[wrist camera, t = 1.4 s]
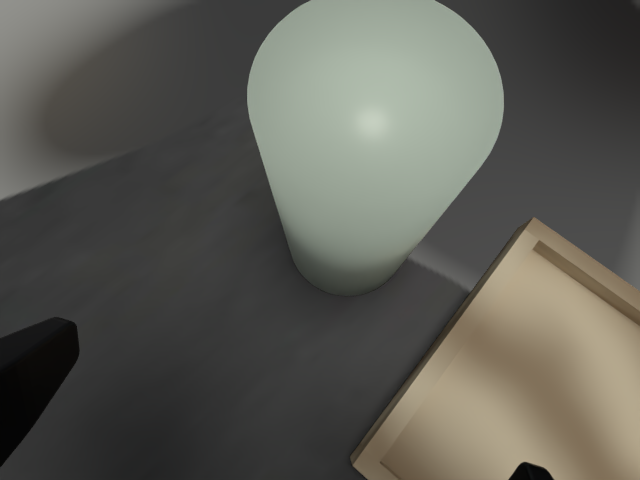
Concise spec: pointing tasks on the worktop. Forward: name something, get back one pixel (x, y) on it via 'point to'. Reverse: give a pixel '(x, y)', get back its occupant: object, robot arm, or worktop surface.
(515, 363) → the tray
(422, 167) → the pillar candle
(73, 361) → the robot arm
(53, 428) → the worktop surface
